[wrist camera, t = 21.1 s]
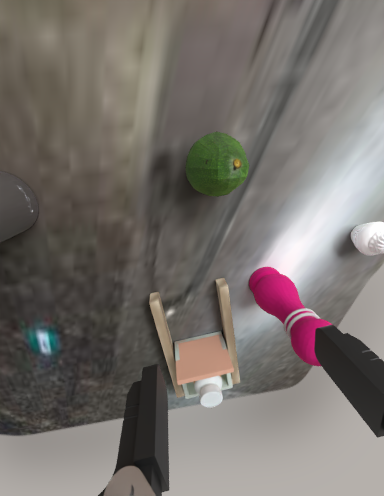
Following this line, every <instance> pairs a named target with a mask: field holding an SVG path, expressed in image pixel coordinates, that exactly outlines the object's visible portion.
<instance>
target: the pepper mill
mask: <svg viewBox="0 0 384 496" xmlns="http://www.w3.org/2000/svg"><path fill="white" fill-rule="evenodd" d="M249 287H250V289H251V291H252V292H253V293H254V298H255V301H256V303H257V304H258V305H259V306H260V308H261V309H263V310H264V311H265V312H267V313H269V314H271V315H274V316H276V317H277V318H278V319H279V320H280V321H281V322H282V323H283V324H284V331H285V332H286V334H287V335H288V336H289V338H290V339H291V344H292V347H293V349H294V351H295V353H296V354H297V355H298V356H299V357H300V358H301V359H302V360H303V361H304V362H306V363H308V364H310V365H314V366H321V365H320V363H319V362H318V360H317V358H316V355H315V351H314V347H315V330H316V328H319V327H324V326H328V325H332V324H331V323H329V322H328V321H326V320H323V319H320V318H319V316H318V315H316V314H315V312H313V311H312V310H310V309H306V308H305V307H304V306H303V305H302V303H301V301H300V299H299V295H298V291H297V289H296V287H295V285H294V283H293V282H292V281H291V280H290V279H289V278H288V277H287V276H285V275H282V274H280V273H279V272H278V271H277V270H275V269H274V268H271V267H263V268H260V269H258V270H257V271H255V272H254V273H253V274H252V276H251V278H250V281H249Z"/></svg>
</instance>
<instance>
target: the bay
mask: <svg viewBox="0 0 384 496" xmlns="http://www.w3.org/2000/svg"><path fill="white" fill-rule="evenodd" d="M216 286H217V293H218V299H219V306H220V313H221V319H222V326H223V333H224V339H225V344H226V347H227V350H228V353H229V356H230V359H231V362H232V365H233V368H234V372H232V373H231V379H232V384H236V383H240V377H239V369H238V361H237V353H236V345H235V337H234V329H233V322H232V314H231V306H230V298H229V290H228V285H227V283H226V281H225V279H224V278H221V279H216ZM149 304H150V307H151V311H152V314H153V317H154V321H155V324H156V328H157V331H158V334H159V338H160V341H161V345H162V348H163V351H164V355H165V358H166V362H167V365H168V368H169V372H170V375H171V378H172V382H173V385H174V389H175V392H176V395H177V398H178V397H182V396H185V393H184V390H183V386H182V384H181V385H178V383H177V375H176V359H175V351H174V347H173V343H172V340H171V336H170V332H169V329H168V325H167V321H166V317H165V314H164V310H163V306H162V303H161V299H160V295H159V292H155V293H151V294H150V301H149Z"/></svg>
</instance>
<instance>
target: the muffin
mask: <svg viewBox="0 0 384 496" xmlns="http://www.w3.org/2000/svg"><path fill="white" fill-rule="evenodd" d="M350 236H351V240H352V241H353V243H354V245H355V247H356V248H358V250H359V251H360V252H361V253H363V254H365V255H376V254H379V253H384V222H374V223H373V222H371V223H366V224H362V225H359V226H357V227H355V228H354V229H353V230H352V232H351V235H350Z"/></svg>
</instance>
